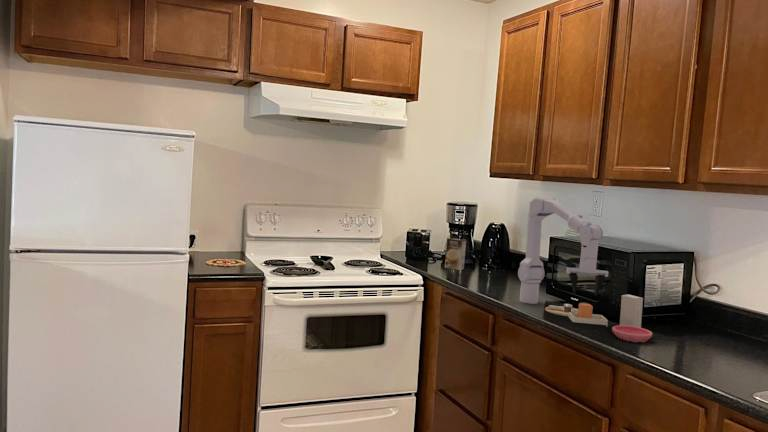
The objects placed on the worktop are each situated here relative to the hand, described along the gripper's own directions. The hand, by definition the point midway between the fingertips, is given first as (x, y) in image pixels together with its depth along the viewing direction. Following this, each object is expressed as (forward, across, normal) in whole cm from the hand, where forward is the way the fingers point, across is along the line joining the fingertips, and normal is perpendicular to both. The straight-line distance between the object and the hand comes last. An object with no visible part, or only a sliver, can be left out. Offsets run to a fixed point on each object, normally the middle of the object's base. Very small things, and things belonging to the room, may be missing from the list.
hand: (585, 294), depth 217 cm
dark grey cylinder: (+9, -3, +10) cm, 14 cm away
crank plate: (+10, -4, +10) cm, 15 cm away
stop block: (+9, 0, -3) cm, 10 cm away
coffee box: (+10, -46, +98) cm, 108 cm away
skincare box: (+10, +14, -8) cm, 19 cm away
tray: (+10, +1, -3) cm, 10 cm away
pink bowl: (+10, +12, -20) cm, 25 cm away
